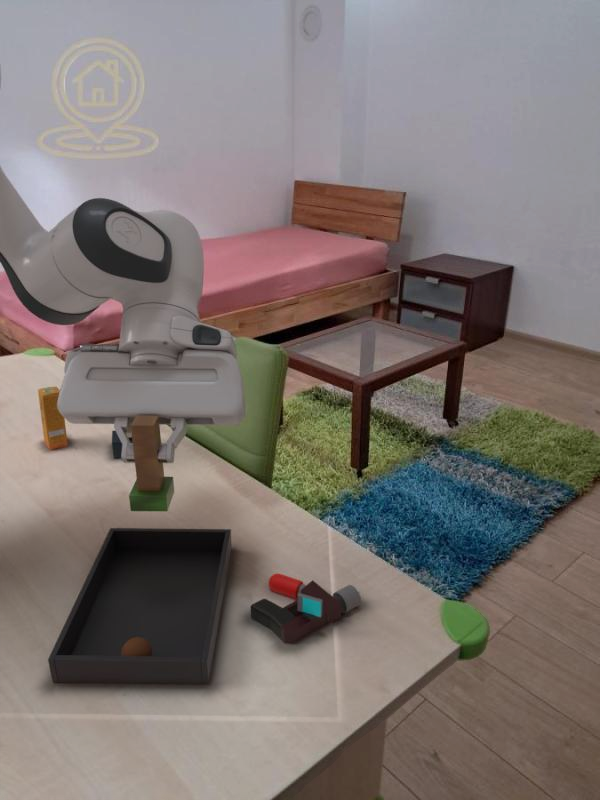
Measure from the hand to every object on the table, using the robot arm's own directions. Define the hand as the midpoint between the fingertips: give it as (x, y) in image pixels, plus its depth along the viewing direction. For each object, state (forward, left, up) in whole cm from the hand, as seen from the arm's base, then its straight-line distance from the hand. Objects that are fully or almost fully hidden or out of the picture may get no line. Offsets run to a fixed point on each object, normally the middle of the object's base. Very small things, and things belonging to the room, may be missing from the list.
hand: (147, 461), depth 67 cm
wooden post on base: (0, +1, -5) cm, 5 cm away
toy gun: (+17, -2, -18) cm, 24 cm away
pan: (0, -3, -17) cm, 18 cm away
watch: (-12, +34, -18) cm, 40 cm away
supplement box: (-25, +36, -18) cm, 47 cm away
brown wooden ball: (0, -12, -15) cm, 19 cm away
